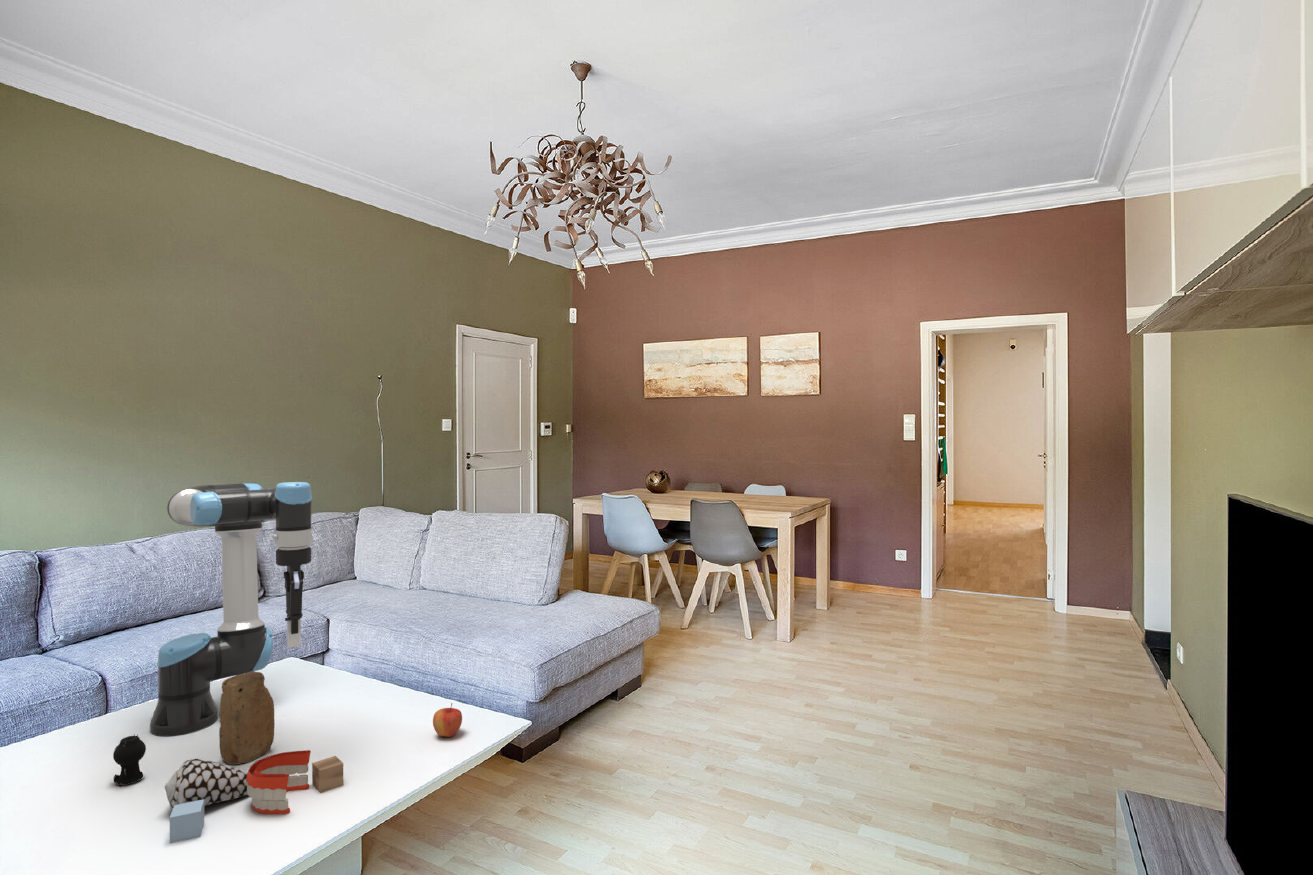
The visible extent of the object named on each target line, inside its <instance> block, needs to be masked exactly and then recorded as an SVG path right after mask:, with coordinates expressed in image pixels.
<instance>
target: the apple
mask: <svg viewBox="0 0 1313 875" xmlns="http://www.w3.org/2000/svg"><path fill="white" fill-rule="evenodd" d="M462 722H463V714H462V711H461V710H460V709H458V708H456V707H453V703H452V702H451V705H450V707H444V708H443V707H442V708H440V709H438V710H436V711H435V712H434V714H433V717H432V725H433V730H434V731H435V733H436V734H437V735H438V737H440V736H443V737H447V738H452V737H454V736H455V735H456V734H457V733H458V731H459V730H460V729H461V726H462Z"/></svg>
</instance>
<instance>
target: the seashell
mask: <svg viewBox="0 0 1313 875" xmlns="http://www.w3.org/2000/svg"><path fill="white" fill-rule="evenodd" d="M247 774H248V771H245V770H242V769H240V768H236V767H232V766H231V765H225V764H223V763H219V762H217V761H212V760H206V759H202V758H191V759H186V760H185V761H183V763H182V764H181V765H180V767H178V768H177V770H176V771H175V772H174V774H172V775H171V777H170V778H169V780H168V781H167V782H166V783H165V785H164V790H165V793H166V794H165V795H166V798H167V802H168V803H169V808H170V809H171V810H173V808H174V805H178V804H183V803H188V802H193V801H198V800H203V799H204V807H206V806H209V805H211V804H214V803H215V804H216V803H220V802H224V801H232V800H235V799H237V798H240V797H244V796H248V794H247V782H246V778H247Z"/></svg>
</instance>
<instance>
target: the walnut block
mask: <svg viewBox="0 0 1313 875" xmlns="http://www.w3.org/2000/svg"><path fill="white" fill-rule="evenodd" d="M311 769H312V770H311V771H312V772H311V774H312V775H311V776H312V777H311V780H312V781H311V784H312V786H313V787H314V788H315V790H316V791H317V792H318V793H319V794H321V793H324V792H327V791H330V790H332V789H335V788H338V787H342V786H344V762H343V761H342V760H341V759H339V757H338V756H336V755H333V756H330V757H327V758H325V759H319V760H317V761H314V762H312V763H311Z"/></svg>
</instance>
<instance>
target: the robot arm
mask: <svg viewBox="0 0 1313 875" xmlns="http://www.w3.org/2000/svg"><path fill="white" fill-rule="evenodd" d="M312 499H313V495H312V487H311V484H310V483H309V482H306V481H305V482H304V481H291V482H287V481H286V482H279V483H277V485H276V487H271V488H268V489H266V488H263V487H262V485H260V484H258V483H251V482H250V483H246V482H245V483H244V482H242V483H228V484H209V485H208V484H204V485H203V484H202V485H194V486H190V487H186V488H184V489H182V490H179V491H178V492H175V493H174V494H173V495H172V496H171V497H170V498H169V500H168V502H167V506H166V511H167V514H168V516H169V518H170V519H171V520H172V522H174V523H177V524H179V525H182V526H186V527H197V528H204V527H205V528H206V527H214V532H215V534H216V535H217V536H219V537H220V538H221V565H222V566H221V567H222V568H221V569H222V608H223V609H222V610H223V612H222V614H223V617H222V618H223V622H222V624H221V625H220V626H219V627H218V628H217V631H216V632H217V635H216V636H213V637H211V635H210V634H209V633H206V632H200V633H192V634H187V635H184V636H180V637H177V638H174V639H171V640H169V641H168V642H165V643H164V644H163V645H162V646H160V648H159V650H158V656H157V664H156V666H157V668H158V670H157V671H158V672H157V688H158V689H157V690H158V691H157V695H158V698H157V703H156V706H155V709H154V712H153V714H152V717H151V720H150V723H149V724H150V725H149V732H150V734H151V735H153V736H158V737H173V736H174V737H175V736H180V735H187V734H191V733H194V732H197V731H201V730H203V729H205V728H208V727H209V726H212V725H213V724H215V723H216V722H217V721H218V717H219V716H218V715H219V712H218V708H217V706H216V703H215V701H214V698H213V695H212V693H211V682H213V681H217V680H221V679H226V678H227V679H228V678H231V677H234V676H236V675H240V674H245V673H247V672H251V671H253V672H259V671H261V670H263V669H265V668H267V666H268V664H269V662H270V660H271V657H272V654H273V648H274V639H273V632H272V630H271V629H270V628H269V627H268V626H267V627H266V624H265V623H266V622H265V621H264V620H262V619H260V617H259V587H258V586H259V584H258V554H257V552H258V550H257V549H258V547H257V535H258V533H259V532H261V530H262V529H263V523H267V522H268V520H269V521H272V520H275V534H273V535H272V538H273V539H274V540H275V547H277V548H276V550H275V564H276V565H277V566H280V567H286V571H283V578H284V589H285V604H286V607H285V608H286V609H285V613H286V617H285V618H284V621H285V622H286V631H287V632H286V642H287V643H286V647H287V648H288V649H290V648H297V647H301V646H302V645H301V644H302V640H301V639H302V638H301V636H302V635H301V634H302V633H301V632H302V631H301V630H302V629H301V627H302V626H301V623H302V622H301V621H302V620H301V619H302V617H303V613H302V612H303V589H304V579H305V571H303V569H302V568H301V566H302V565H308V564H310V563H312V548H311V545H312V544H313V543H312V541H313V540H312V539H313V537H312V535H313V534H312V532H313V531H312V530H313V528H312Z"/></svg>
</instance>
